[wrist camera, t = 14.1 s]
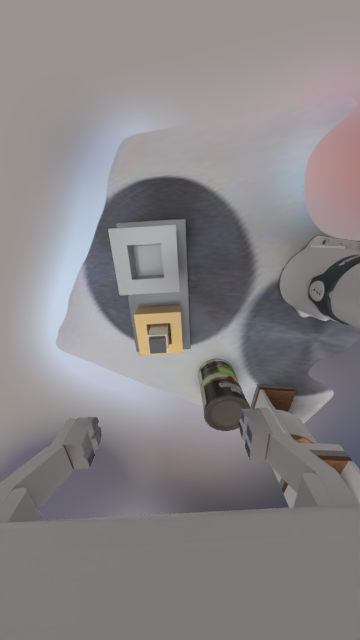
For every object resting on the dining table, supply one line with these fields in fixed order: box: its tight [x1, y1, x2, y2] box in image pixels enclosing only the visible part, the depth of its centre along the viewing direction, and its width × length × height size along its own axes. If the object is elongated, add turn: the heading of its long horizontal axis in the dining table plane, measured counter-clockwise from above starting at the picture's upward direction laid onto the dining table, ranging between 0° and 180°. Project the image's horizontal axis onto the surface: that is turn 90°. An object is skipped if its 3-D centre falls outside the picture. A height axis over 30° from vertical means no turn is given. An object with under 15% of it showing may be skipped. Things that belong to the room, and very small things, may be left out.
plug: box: [148, 323, 170, 354], centre depth 42 cm, size 4×4×10 cm
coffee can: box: [198, 359, 250, 431], centre depth 48 cm, size 10×10×14 cm
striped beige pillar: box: [250, 385, 360, 508], centre depth 43 cm, size 11×11×35 cm
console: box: [108, 219, 190, 355], centre depth 39 cm, size 14×30×14 cm, turn 3°
